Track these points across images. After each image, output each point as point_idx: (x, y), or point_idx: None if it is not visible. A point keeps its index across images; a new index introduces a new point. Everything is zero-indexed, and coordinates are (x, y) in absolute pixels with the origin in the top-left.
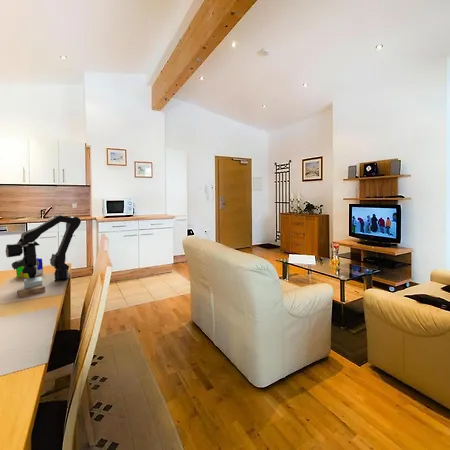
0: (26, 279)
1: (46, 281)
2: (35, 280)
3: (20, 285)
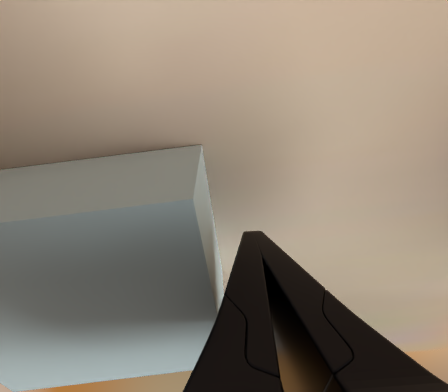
0: (134, 242)
1: None
2: (25, 348)
3: (357, 69)
